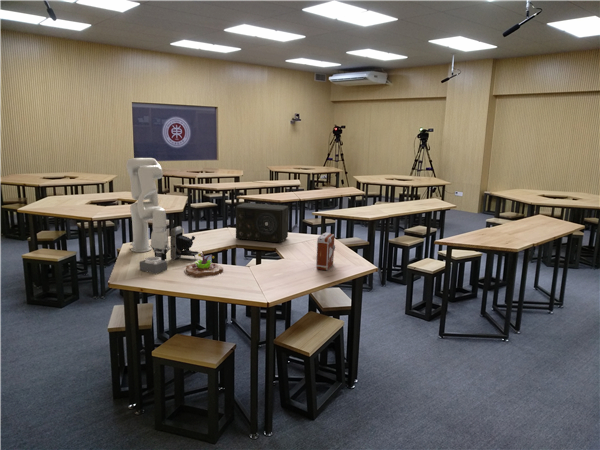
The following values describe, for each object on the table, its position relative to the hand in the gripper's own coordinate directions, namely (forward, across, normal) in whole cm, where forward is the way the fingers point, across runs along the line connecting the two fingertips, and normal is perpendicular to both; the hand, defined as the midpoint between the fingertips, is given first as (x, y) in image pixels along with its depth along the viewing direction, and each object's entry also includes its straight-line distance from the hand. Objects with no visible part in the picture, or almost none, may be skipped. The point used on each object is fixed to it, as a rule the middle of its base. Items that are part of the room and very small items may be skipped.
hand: (160, 258), depth 267 cm
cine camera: (+3, +88, +46) cm, 99 cm away
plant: (+3, +32, 0) cm, 32 cm away
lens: (+2, 0, 0) cm, 2 cm away
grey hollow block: (+2, +7, -13) cm, 15 cm away
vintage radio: (+3, +20, +81) cm, 84 cm away
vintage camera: (+3, +7, +14) cm, 16 cm away
